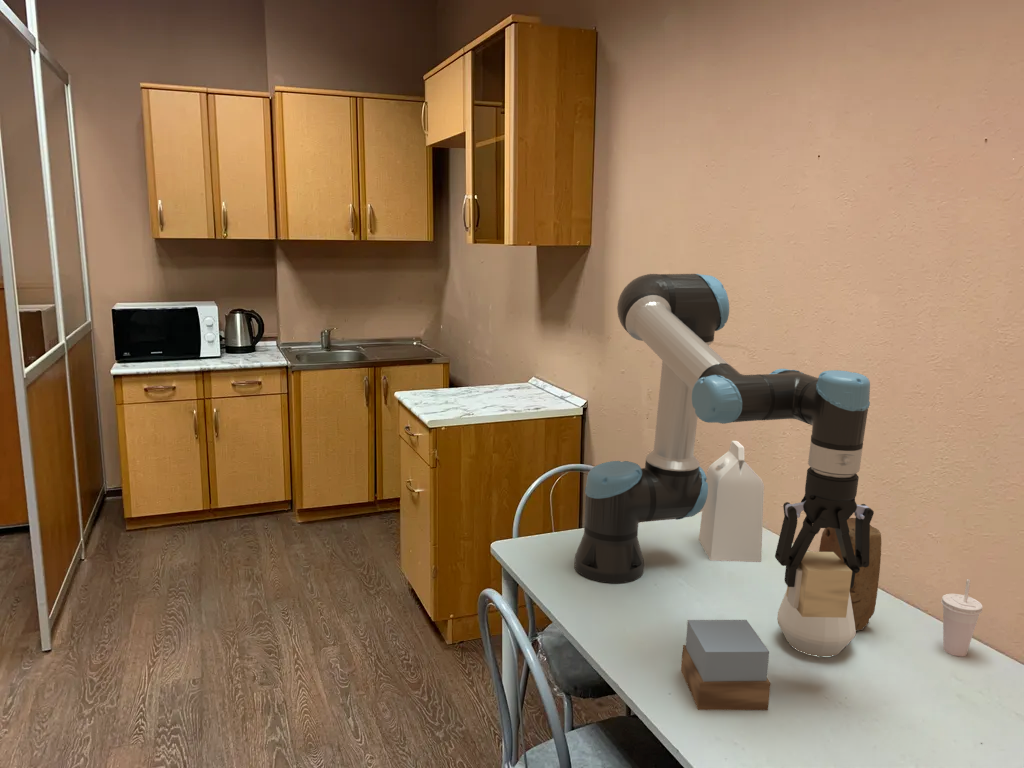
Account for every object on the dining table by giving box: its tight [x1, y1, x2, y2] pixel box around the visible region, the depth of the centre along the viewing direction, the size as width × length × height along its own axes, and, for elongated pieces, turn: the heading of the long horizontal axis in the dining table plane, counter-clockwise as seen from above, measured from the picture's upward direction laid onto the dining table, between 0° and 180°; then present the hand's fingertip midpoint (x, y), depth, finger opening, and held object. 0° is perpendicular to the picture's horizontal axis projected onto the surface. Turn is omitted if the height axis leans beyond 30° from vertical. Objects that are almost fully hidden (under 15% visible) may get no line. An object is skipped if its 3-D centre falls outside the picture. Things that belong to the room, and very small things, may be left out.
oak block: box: [785, 550, 852, 618], centre depth 126 cm, size 7×7×8 cm
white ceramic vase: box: [776, 589, 857, 657], centre depth 140 cm, size 13×13×14 cm
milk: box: [698, 440, 765, 563], centre depth 180 cm, size 12×12×26 cm
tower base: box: [680, 644, 772, 711], centre depth 126 cm, size 11×11×5 cm
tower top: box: [685, 619, 770, 682], centre depth 125 cm, size 10×10×5 cm
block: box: [818, 517, 882, 632], centre depth 148 cm, size 11×8×20 cm
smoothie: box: [940, 578, 983, 657], centre depth 139 cm, size 6×6×14 cm
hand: (816, 604), depth 126 cm, fingers closed on oak block, 7 cm apart
